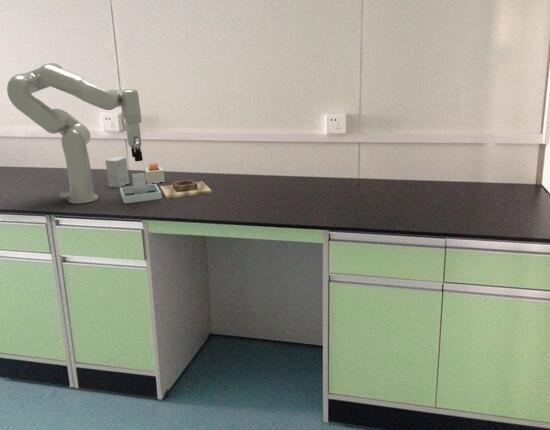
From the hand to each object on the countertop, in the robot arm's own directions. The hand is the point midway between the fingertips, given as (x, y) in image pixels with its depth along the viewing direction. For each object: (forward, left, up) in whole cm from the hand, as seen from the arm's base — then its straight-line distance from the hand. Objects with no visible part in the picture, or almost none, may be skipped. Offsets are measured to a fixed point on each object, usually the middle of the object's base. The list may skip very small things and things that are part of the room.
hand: (137, 158), depth 238 cm
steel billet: (0, 0, -17) cm, 17 cm away
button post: (+10, +24, -17) cm, 31 cm away
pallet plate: (+20, 0, -17) cm, 26 cm away
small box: (-7, +25, -17) cm, 31 cm away
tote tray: (0, 0, -17) cm, 17 cm away
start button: (+10, +24, -12) cm, 28 cm away
